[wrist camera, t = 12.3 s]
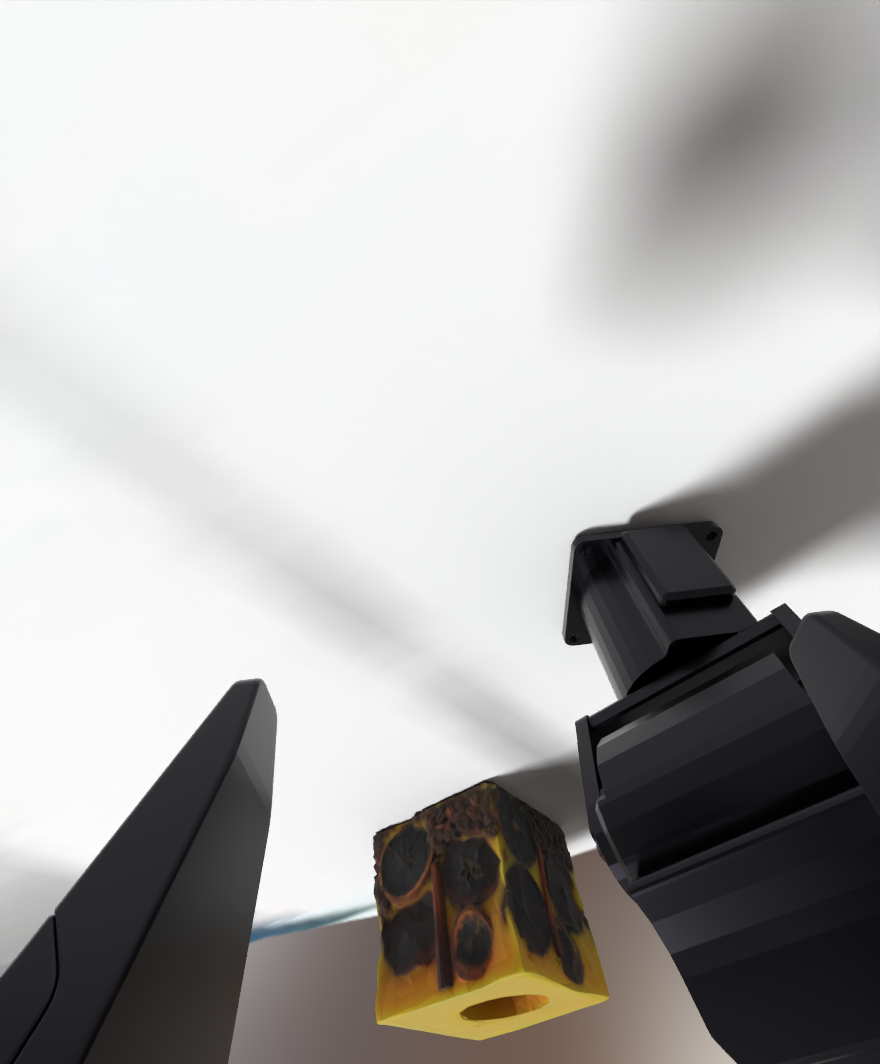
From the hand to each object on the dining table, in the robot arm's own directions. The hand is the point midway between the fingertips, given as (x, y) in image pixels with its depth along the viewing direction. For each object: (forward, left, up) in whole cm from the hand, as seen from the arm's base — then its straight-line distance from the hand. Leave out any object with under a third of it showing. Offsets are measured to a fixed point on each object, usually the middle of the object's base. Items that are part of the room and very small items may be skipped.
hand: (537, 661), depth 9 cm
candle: (-32, +1, -12) cm, 35 cm away
